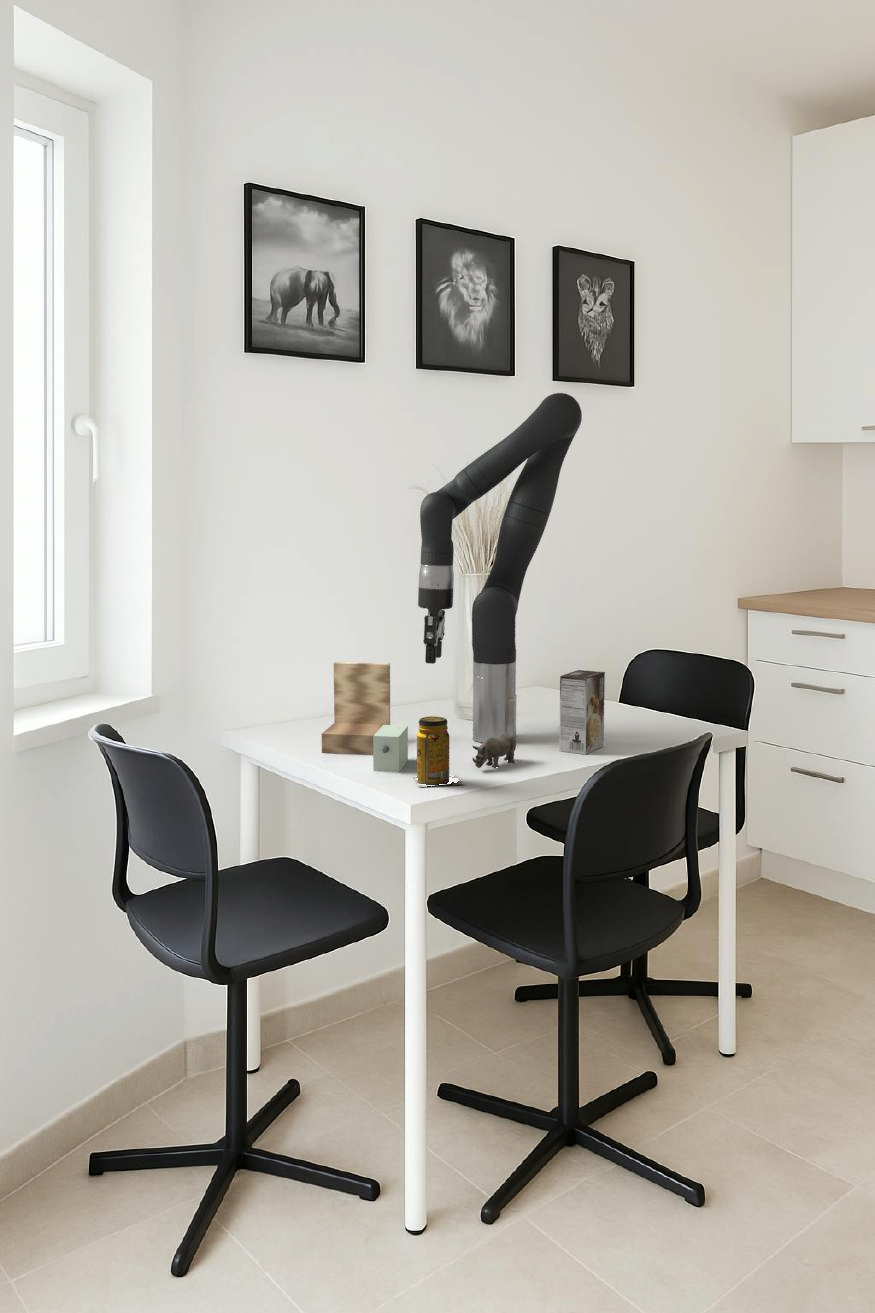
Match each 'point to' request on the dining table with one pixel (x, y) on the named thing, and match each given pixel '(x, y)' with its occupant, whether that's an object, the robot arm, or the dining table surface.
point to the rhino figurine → (495, 750)
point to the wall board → (362, 693)
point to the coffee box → (581, 711)
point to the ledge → (349, 738)
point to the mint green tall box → (390, 748)
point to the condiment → (433, 752)
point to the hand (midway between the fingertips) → (433, 660)
